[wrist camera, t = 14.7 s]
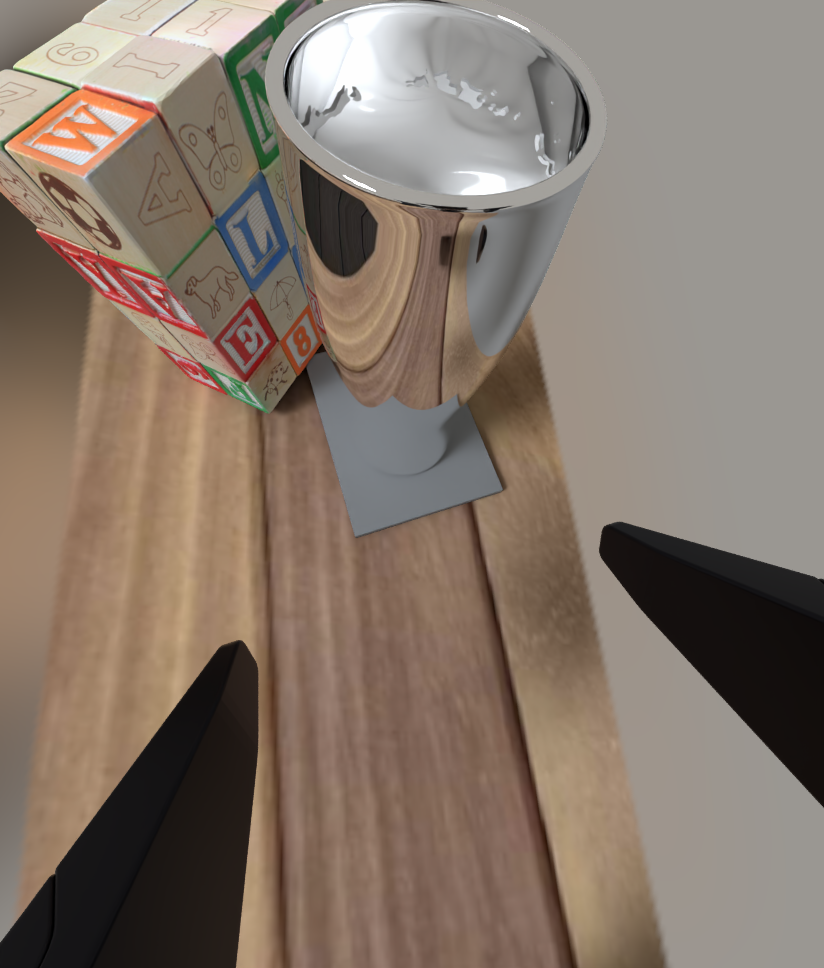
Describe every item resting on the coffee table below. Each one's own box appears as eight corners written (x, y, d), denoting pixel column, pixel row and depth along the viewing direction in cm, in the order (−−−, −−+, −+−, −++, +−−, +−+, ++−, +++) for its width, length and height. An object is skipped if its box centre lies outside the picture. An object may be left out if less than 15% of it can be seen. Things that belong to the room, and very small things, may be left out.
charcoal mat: (499, 492, 21) (503, 489, 20) (355, 538, 19) (355, 536, 19) (434, 333, 24) (435, 327, 23) (305, 362, 22) (303, 356, 22)
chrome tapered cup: (481, 434, 21) (687, 114, 7) (397, 508, 19) (438, 285, 5) (405, 360, 22) (445, -50, 8) (319, 423, 20) (171, 42, 6)
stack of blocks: (355, 179, 28) (309, -132, 16) (425, 200, 26) (430, -116, 15) (187, 380, 21) (-92, 109, 10) (270, 418, 20) (70, 165, 9)
